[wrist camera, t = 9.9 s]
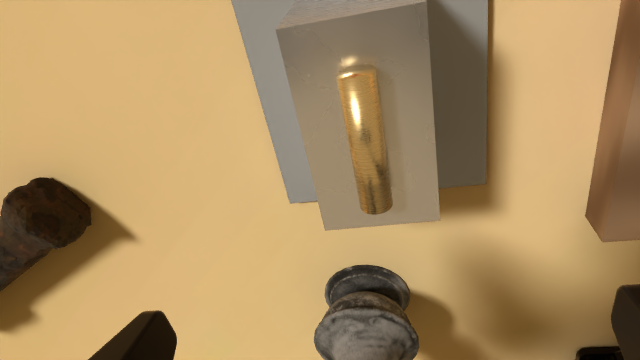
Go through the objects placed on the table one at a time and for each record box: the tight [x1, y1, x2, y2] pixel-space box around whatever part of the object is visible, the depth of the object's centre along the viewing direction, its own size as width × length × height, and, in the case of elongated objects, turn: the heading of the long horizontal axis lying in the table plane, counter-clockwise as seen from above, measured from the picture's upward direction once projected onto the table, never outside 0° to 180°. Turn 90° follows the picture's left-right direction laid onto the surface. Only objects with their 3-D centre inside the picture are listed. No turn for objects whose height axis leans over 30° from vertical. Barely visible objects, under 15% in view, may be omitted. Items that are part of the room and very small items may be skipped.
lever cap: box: [275, 0, 440, 230], centre depth 16 cm, size 8×4×6 cm, turn 12°
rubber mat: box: [231, 0, 488, 203], centre depth 19 cm, size 12×10×1 cm
